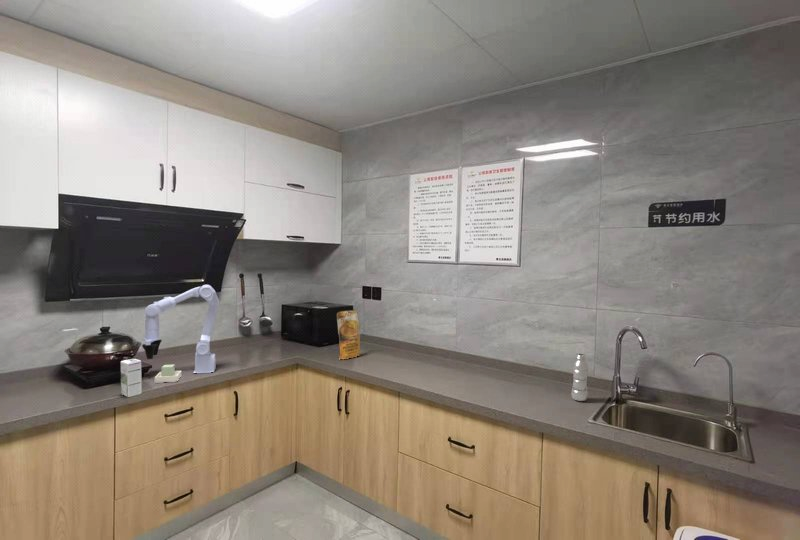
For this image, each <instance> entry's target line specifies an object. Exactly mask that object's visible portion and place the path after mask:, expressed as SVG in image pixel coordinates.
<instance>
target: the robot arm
mask: <svg viewBox="0 0 800 540" xmlns="http://www.w3.org/2000/svg"><path fill="white" fill-rule="evenodd" d="M192 297H194V298H195V297H196V298H199V297H201V298H203V299H204V300H206V302H207V304H208V305H209V306H208V310H207V313H206V317H205V321H204V325H203V328H202V331H201V335H200V339H199V340H198V341H197V343H196V344H195V345H196V347H195V354H194V371H193V372H192V374H193V373H197V374H210V373H211V372H213V373H214V372H215V370H216V362H217V361H216V353H212V352H211V351H210V350H211V348H210V347H211V343H210V342H211V337H212V334H213V330H214V327H215V323H216V318H217V315H218V311H219V308H220V299H219V297H218V295H217V292H216V290H215V289H214V288H213V287H212V286H211V285H210V284H203V285H202V286H201V285H200V286H197V287H194V288H191V289H188V290H187V291H185V292H183V293H181V294H178V295H177V296H164V297H163V299H161V300H158V301H153V303H152V304H149V305H147V306H146V307H145V309H144V314H145V330H144V332H145V336H144V337H143V338H142V341H145V343H144V344H142V345H141V346H142V349H143V350H144V352H145V356H146V359H147V360H153V358H154V356H157V355H158V353H159V348H160V345H161V343H162V339H160V318H159V316H160V315H159V314H160V313H165V312H168V311H169V310H170V309H173V308H175V307H176V305H177V304H178V303H180V302H182V301H185V300H189V299H190V298H192ZM211 374H212V373H211Z"/></svg>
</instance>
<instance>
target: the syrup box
mask: <svg viewBox="0 0 800 540" xmlns="http://www.w3.org/2000/svg"><path fill="white" fill-rule="evenodd" d="M142 385H143V384H142V360H140V359H137V358H129V359H125V360H121V361H120V395H121V394H122V396H123V395H124V396H123V397H125V398H130V397H134V396H139V395H142V393H143V391H142Z"/></svg>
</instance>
